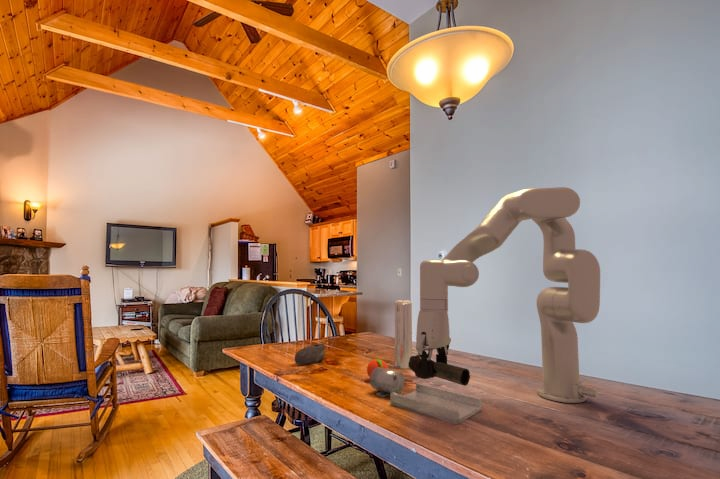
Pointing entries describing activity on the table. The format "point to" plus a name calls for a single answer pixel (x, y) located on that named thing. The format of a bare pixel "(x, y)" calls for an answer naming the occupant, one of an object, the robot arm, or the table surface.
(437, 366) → the brown knobbed club
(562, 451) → the table surface
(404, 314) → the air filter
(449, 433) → the table surface
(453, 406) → the cradle
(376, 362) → the clementine
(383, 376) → the duct stub
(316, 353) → the perforated stone tool
